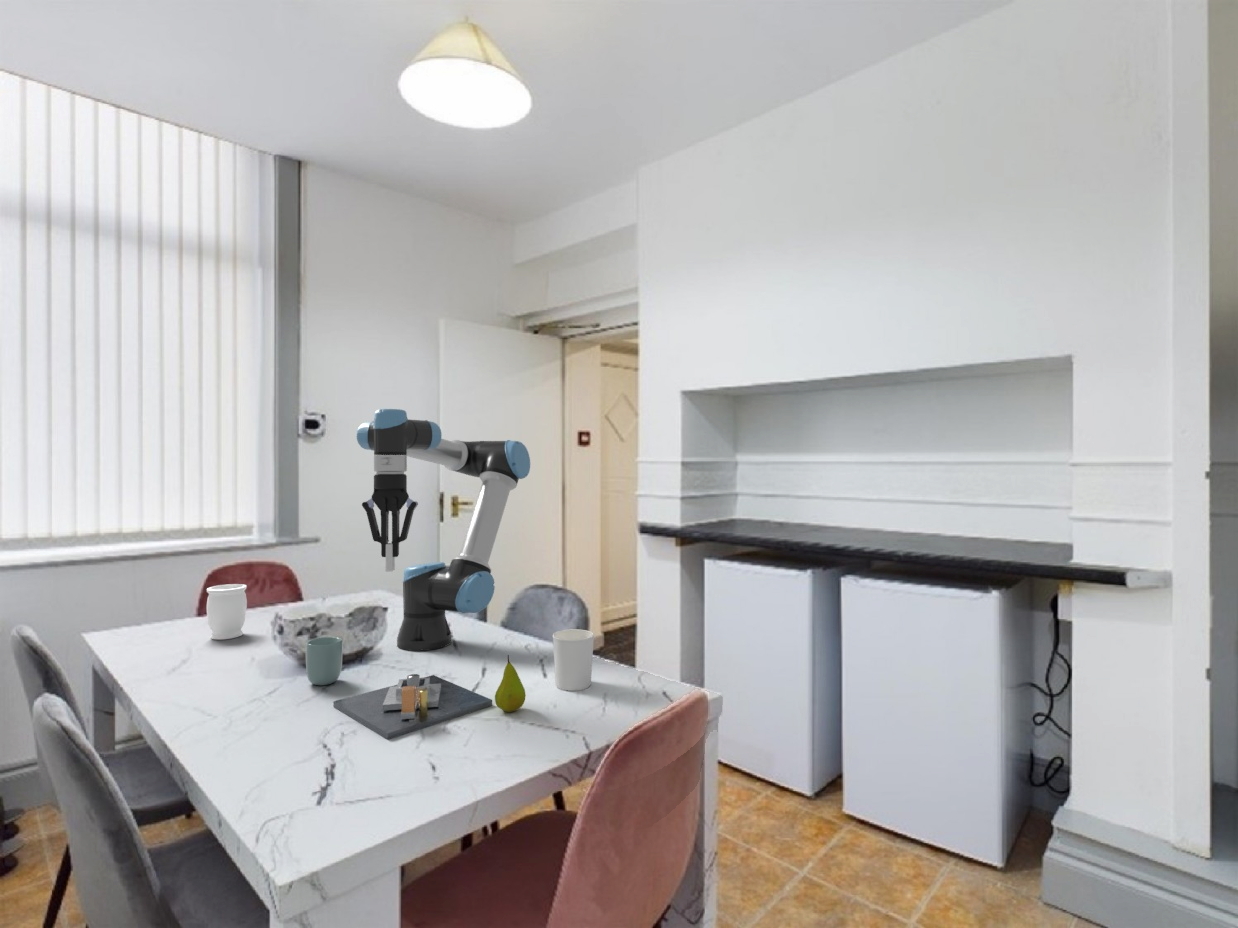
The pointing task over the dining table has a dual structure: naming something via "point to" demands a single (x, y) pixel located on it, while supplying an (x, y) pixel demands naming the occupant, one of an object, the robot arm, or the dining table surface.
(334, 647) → the cup
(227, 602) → the jar
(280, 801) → the dining table surface
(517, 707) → the fruit
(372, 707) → the base
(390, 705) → the grey metal fixture
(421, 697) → the dowel
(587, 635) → the white tumbler
